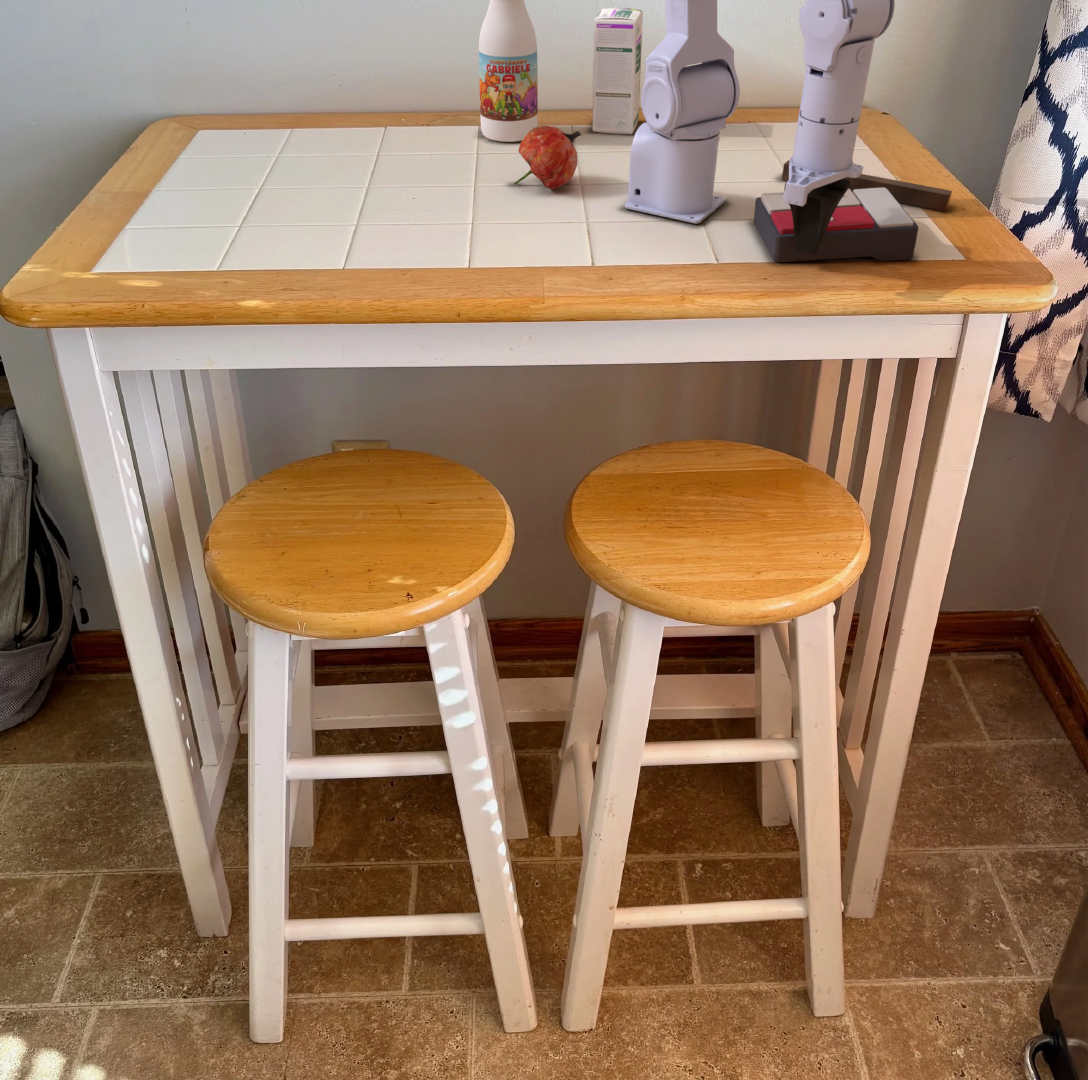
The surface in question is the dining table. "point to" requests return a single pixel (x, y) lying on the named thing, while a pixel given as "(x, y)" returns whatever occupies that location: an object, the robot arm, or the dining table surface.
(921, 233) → the dining table surface
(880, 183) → the bar
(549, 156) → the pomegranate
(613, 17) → the syrup box
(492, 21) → the milk bottle
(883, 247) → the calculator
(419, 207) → the dining table surface
